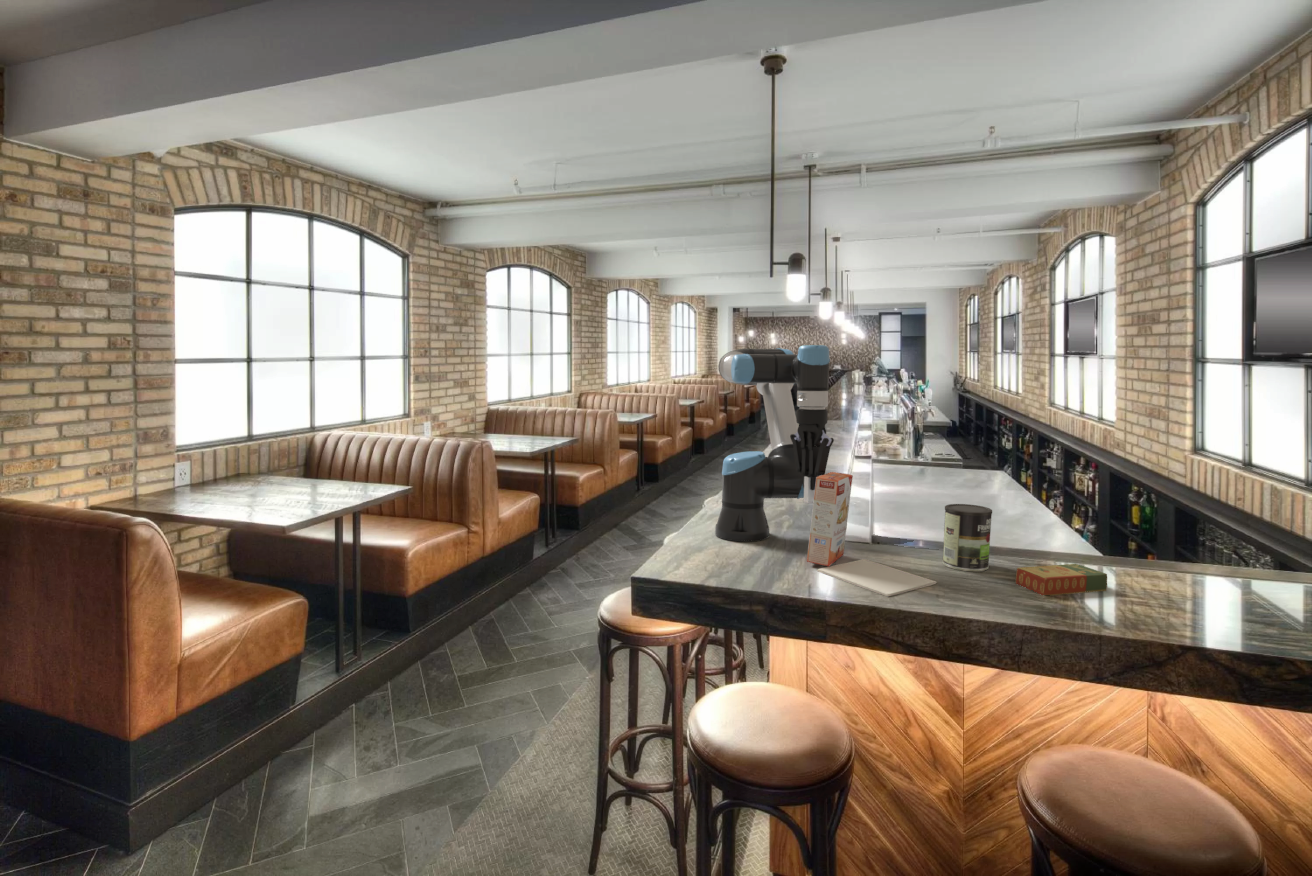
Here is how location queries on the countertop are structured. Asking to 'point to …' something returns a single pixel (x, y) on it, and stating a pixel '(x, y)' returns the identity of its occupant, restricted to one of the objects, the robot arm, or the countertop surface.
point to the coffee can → (967, 537)
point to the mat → (876, 577)
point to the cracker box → (829, 518)
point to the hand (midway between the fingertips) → (809, 501)
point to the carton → (1061, 579)
